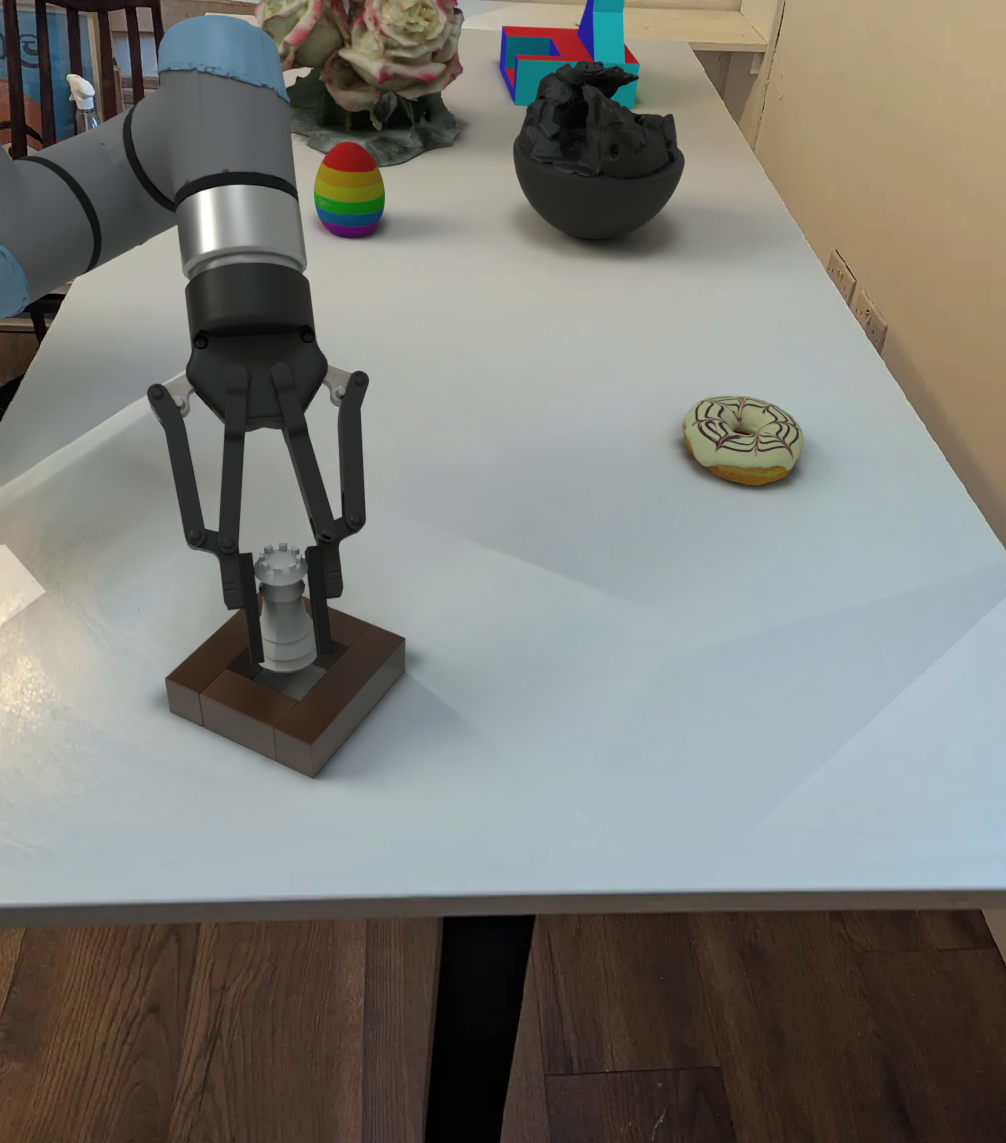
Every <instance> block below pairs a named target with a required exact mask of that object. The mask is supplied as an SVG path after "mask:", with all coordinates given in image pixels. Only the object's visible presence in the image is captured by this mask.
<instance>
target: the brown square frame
mask: <svg viewBox="0 0 1006 1143" xmlns="http://www.w3.org/2000/svg"><path fill="white" fill-rule="evenodd" d="M257 599H258V607H259V616H261V615H262V606H263V596H262V595H261V594H260V592H259V591H257ZM303 601H304V606H305V610H306V613H308V614H309V615H310V618H311V619H312V611H311V602H310V597H307V596H304V595H303ZM327 606H328V615H329V623H330V631H331V640H332V648H333V653H332V654H329V655H321V656H317V657H316V658H315V660H314V661H313V662H312V663H311V664H312V665H315V666H317V667H319V668H322V669H325V670H327V671H326V672H325V673H324V674H323V676H321V677H320V679H319V680H318V681H317V682H316V683H315V684H314V685H313V686H312V687H311V688H310V689H309V690H308V692H306V693H305V695H304V696H303V697H302V698H301V699H300V700H298V699H297V698H293V697H291V696H288V695H286V694H284V693H282V692H279V691H278V690H275V689H273V688H271V687H268V686H266V685H264V684H263V683H260V682H257V681H255V680H253V678H254V677H255V676H256V675H257V674H258V673H259V672H260V671H261V670H262V669H263V668H264V667H262V666H261V665H260V664H259V663H258V664H251V662H250V654H249V645H248V636H247V627H246V619H245V610H244V609H238V610H237V611H236V612H235V613H234V614H233V615H231V617H230V618H229V619H228V620H226V621H225V622H224V623H223V624H222V625H221V626H220V627H219V628H218V629H217V630H216V631H215V632H214V633H212V634H211V635H210V636H209V637H208V638H207V639H206V640H205V641H204V642H202V643H201V644H200V645H198V647H197V648H196V649H195V650H194V651H193V652H192V653H190V654H189V655H188V656H187V657H186V658H185V659H184V660H183V661H182V662H180V664H179V665H177V666H176V667H175V668H174V669H172V671H171V672H170V673H168V675H167V676H166V677H164V683H165V690H166V695H167V701H168V702H167V703H168V705H169V706H168V707H169V711H170V712H171V713H173V714H175V715H177V716H179V717H182V718H184V719H186V720H188V721H190V722H192V723H194V724H196V725H199V726H201V727H204V728H205V729H207V730H210V731H212V732H213V733H216V734H218V735H219V736H223V737H224V738H227V739H229V740H231V741H233V742H235V743H237V744H239V745H241V746H244V747H246V748H248V749H250V750H252V751H254V752H256V753H258V754H261V755H263V756H265V757H267V758H269V759H271V760H273V761H276V762H277V763H280V764H281V765H284V766H286V767H288V768H290V769H292V770H295V771H297V772H299V773H301V774H302V775H305V776H307V777H310V778H312V779H314V778H315V777H316V776H317V774H318V773H319V772H320V771H321V770H322V768H324V766H325V765H326V763H328V761H329V760H330V759H331V758H332V757H333V755H335V753H336V752H337V751H338V750H339V748H341V746H342V745H343V744H344V742H346V740H347V739H348V738H349V737H350V736H351V734H352V733H353V732H354V731H355V730H356V729H357V727H358V726H359V725H360V724H361V723H362V722H363V720H364V719H365V718H366V717H367V715H368V714H369V713H370V712H371V711H372V710H373V708H375V706H376V705H377V704H378V702H379V701H381V699H382V698H383V696H385V694H386V693H387V692H388V691H389V690H390V688H391V687H392V686H393V685H394V684H395V683H396V681H397V680H398V679H399V678H400V677H401V675H403V673H404V672H405V670H406V643H407V641H406V640H407V639H406V637H404V636H401V635H399V634H397V633H395V632H392V631H390V630H387V629H385V628H383V627H380V626H378V625H375V624H373V623H370V622H368V621H366V620H363V619H361V618H358V617H357V616H354V615H351V614H349V613H346V612H344V611H341V610H338V609H336V608H333V607H331V606H329V605H327ZM312 620H313V619H312Z"/></svg>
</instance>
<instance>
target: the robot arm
mask: <svg viewBox="0 0 1006 1143" xmlns="http://www.w3.org/2000/svg"><path fill="white" fill-rule="evenodd" d="M163 34H164V35H163V36H162V39H161V40H160V43H159V46H158V50H157V53H158V55H157V56H158V58H157V59H158V61H157V70H156V73H157V78H158V79H159V83H160V85H159V88H157V89H156V90H153V91H152V92H151V93H149V94H147V95H146V96H144V97H143V98H142V99H141V100H139V101H138V102H136V103H135V104H134V105H133V106H131V107H129V108H127V109H126V110H124V111H122V112H120V113H118V114H116V115H115V116H113V117H111V118H109V119H107V120H105V121H104V122H102V123H101V124H98V125H96V126H94V127H93V128H90V129H88V130H86V131H84V132H82V133H79V134H77V135H74V136H71V137H69V138H66V139H63V140H62V141H59V142H56V143H54V144H52V145H49V146H47V147H45V148H41V149H40V150H38V151H35V152H33V153H31V154H28V155H24V156H21V157H18V158H16V159H13V160H12V159H11V157H10V155H9V154H8V152H7V151H6V149H5V148H4V147H3V145H2V144H1V143H0V320H2V319H6V318H12V317H14V316H17V315H19V314H20V313H22V312H24V310H25V308H26V307H27V306H29V305H30V304H32V303H34V302H36V301H37V300H39V299H41V298H43V297H45V296H46V295H48V294H50V293H52V292H53V291H55V290H56V289H58V288H60V287H63V286H64V285H65V284H67V283H69V282H70V281H72V280H74V279H76V278H79V277H81V276H83V275H86V274H87V273H89V272H91V271H93V270H96V269H97V268H99V267H101V266H103V265H105V264H107V263H109V262H110V261H112V260H114V259H116V258H118V257H119V256H121V255H123V254H125V253H127V252H130V251H132V250H133V249H135V248H136V247H139V246H142V245H143V244H145V243H148V241H149V240H151V239H153V238H154V237H157V236H158V235H160V234H162V233H164V232H166V231H168V230H170V229H172V228H174V227H176V226H177V227H176V228H177V236H178V244H179V253H180V261H181V262H180V263H181V270H182V273H183V276H184V277H185V278H186V279H187V280H188V281H189V282H188V283H187V284H186V286H185V288H184V297H185V304H186V314H187V323H188V331H189V341H190V348H191V353H190V356H189V359H188V361H187V363H186V366H185V373H184V374H183V375H180V376H179V377H177V378H175V379H173V380H171V381H169V382H167V383H166V384H162V383H153V384H151V385H149V386H148V388H147V390H146V397H147V400H148V403H149V407H150V409H151V411H152V412H153V414H154V416H155V418H156V419H157V421H158V422H159V424H160V425H161V427H162V429H163V430H164V434H165V435H164V436H165V440H166V445H167V450H168V456H169V461H170V465H171V471H172V476H173V481H174V487H175V492H176V497H177V498H176V499H177V501H178V503H177V504H178V508H179V513H180V518H181V524H182V529H183V534H184V539H185V542H186V545H187V547H188V548H189V549H191V550H193V551H200V552H204V553H208V554H211V555H213V556H214V557H215V558H216V559H217V560H218V563H219V571H220V579H221V586H222V587H221V589H222V599H223V604H224V605H225V607H226V609H227V611H236V610H240V609H244V610H245V619H246V627H247V636H248V645H249V654H250V662H251V664H258V663H264V662H265V660H264V651H263V642H262V633H261V625H260V616H259V607H258V599H257V593H258V590H257V582H256V576H255V573H254V564H255V563H254V556H253V552H252V551H249V552H241V551H240V530H241V529H240V528H241V513H242V512H241V511H242V496H243V495H242V494H243V479H244V478H243V477H244V460H245V459H244V458H245V441H246V433H251V432H254V431H258V430H260V429H263V428H264V429H269V430H277V431H278V430H279V431H280V430H281V433H282V434H281V435H282V437H283V441H284V443H285V446H286V447H287V451H288V455H289V458H290V461H291V464H292V467H293V471H294V474H295V478H296V481H297V484H298V488H299V492H300V495H301V499H302V501H303V505H304V508H305V512H306V515H307V519H308V523H309V525H310V528H311V533H312V535H313V539H314V542H315V545H307V547H306V548H305V550H304V559H305V560H306V562H307V564H308V571H307V574H306V577H307V585H308V593H309V599H310V602H311V611H312V619H313V628H314V636H315V644H316V653H317V656H321V655H329V654H332V653H333V648H332V640H331V631H330V623H329V615H328V606H329V605H328V600H332V599H339V598H341V597H342V595H343V591H344V580H343V572H342V563H341V556H340V544H341V542H342V541H344V540H345V539H347V538H349V537H352V536H353V535H357V534H358V533H359V532H360V531H362V530H363V528H364V526H365V525H366V523H367V510H366V493H365V492H366V490H365V489H366V488H365V469H364V468H365V467H364V449H363V427H362V425H363V424H362V406H363V403H364V401H365V400H364V399H365V396H366V393H367V390H368V387H369V384H370V378H369V375H368V374H367V372H365V371H363V370H355V371H353V372H349V371H346V370H343V369H340V368H338V367H335V366H332V365H329V362H328V359H327V357H326V355H325V354H324V353H323V351H322V350H321V348H320V346H319V344H318V340H317V332H316V325H315V318H314V310H313V309H314V308H313V300H312V292H311V285H310V280H309V278H307V276H305V275H304V273H305V271H306V270H307V267H308V260H307V258H308V257H307V251H306V243H305V242H306V241H305V234H304V228H303V227H304V226H303V220H302V213H301V206H300V200H299V199H300V198H299V192H298V186H297V178H296V168H295V159H294V150H293V149H294V148H293V139H292V138H293V137H292V132H291V125H290V113H289V107H290V99H289V97H288V95H287V92H286V88H287V87H286V83H285V78H284V72H283V71H282V66H281V65H282V64H281V61H280V56H279V52H278V49H277V46H276V44H275V43H274V41H273V40H272V38H271V37H270V36H269V35H268V34H267V33H266V32H264V31H263V30H262V29H261V28H259V26H255V25H253V24H251V23H249V22H248V21H247V20H245V19H242V18H239V17H236V16H230V15H220V14H208V15H207V14H206V15H198V16H194V17H190V18H186V19H183V20H181V21H179V22H177V23H175V24H173V25H172V26H171V27H169V28H168V29H167V30H166V32H164V33H163ZM322 385H324V386H325V387H327V389H328V390H329V400H330V402H331V404H332V405H333V406H335V407H338V411H337V443H338V444H337V445H338V464H339V465H338V466H339V485H340V505H341V506H340V507H341V516H340V517H338V518H334V514H333V511H332V508H331V504H330V502H329V497H328V493H327V491H326V490H327V489H326V487H325V484H324V480H323V477H322V473H321V471H320V467H319V463H318V460H317V457H316V452H315V450H314V446H313V444H312V439H311V437H310V432H309V427H308V426H309V425H308V421H307V419H306V412H307V410H308V408H309V407H310V405H311V404H312V402H313V400H314V398H315V397H316V396H317V394H318V392H319V390H320V388H321V387H322ZM192 394H195V395H196V396H197V397H198V399H200V400H201V402H203V403H204V405H205V406H206V407H207V408H208V409H209V410H210V411H211V412H212V413H213V414H214V415H215V416H216V417H217V419H218V420H219V421H220V422H221V423H222V424H223V425H224V428H223V449H222V462H221V479H220V480H221V481H220V482H221V483H220V498H219V499H220V500H219V513H218V514H219V515H218V517H219V518H218V531H217V530H213V529H208V528H206V526H205V521H204V516H203V511H202V506H201V501H200V496H199V489H198V485H197V480H196V475H195V470H194V465H193V464H194V463H193V459H192V453H191V449H190V444H189V438H188V432H187V427H186V424H185V420H184V418H187V416H188V415H189V414H190V412H191V404H190V401H189V400H190V397H191V395H192ZM240 552H241V553H240Z"/></svg>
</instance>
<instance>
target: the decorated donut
mask: <svg viewBox="0 0 1006 1143" xmlns="http://www.w3.org/2000/svg"><path fill="white" fill-rule="evenodd" d="M681 426H682V434H683V440H684V443H685V446H686V447H687V450H688V451H689V454H691V455H692V456H693V458H694V459H695V460H696V461H697V462H698V463H699V464H700V465H702V466H703V467H704V468H705V469H707V470H709V471H710V472H711V473H712V474H713V475H714V476H715V477H716V478H721V479H723V480H726V481H729V482H733V483H739V484H743V485H745V486H746V485H747V486H754V487H759V486H762V485H764V484H769V483H774V482H776V481H779V480H783V479H784V478H786V477H787V475H788V474H789V473H790V472H791V471H792V469H793V468H794V466H795V465H796V463H797V461H798V459H799V458H800V457H801V455H802V452H803V449H804V448H803V447H804V443H805V438H804V432H803V429H802V428H801V426H800V424H799V423H798V422H797V420H796V419H795V418H794V416H793V415H792V414H790V413H789V412H787V411H786V410H784V409H783V408H780V407H779V406H777V405H775V404H773V403H770V402H768V401H766V400H763V399H759V398H754V397H750V396H745V395H744V396H743V395H736V396H735V395H733V396H732V395H718V396H708V397H705V398H704V399H702V400H699V401H696V403H695V404H693V405H692V406H691V407H690V409H689V410H688V412H687V413H686V414H685V415H684V416H683V422H682V425H681Z"/></svg>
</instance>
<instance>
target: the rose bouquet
mask: <svg viewBox="0 0 1006 1143" xmlns="http://www.w3.org/2000/svg"><path fill="white" fill-rule="evenodd" d="M458 6H459V3H458V0H260V1H258V3H257V4H256V5H255V8H254V9H253V16H254V18H255V19H256V21H257V24H258V27H259V28H261V29H262V30H263V31H264V32H266V33H267V34H268V35H269V36H270V37H271V38H272V40H273V41H274V43H275V44H276V46H277V49H278V52H279V56H280V61H281V66H282V71H283V73H284V72H287V71H293V70H299V69H300V70H301V69H304V68H307V69H310V71H309V73H308V74H306V75H305V76H304V77H303V76H299V75H297V76H295V82H294V84H291V85H289V86H287V87H286V92H287V95H288V97H289V99H290V107H289V113H290V125H291V133H295V134H296V133H297V134H300V135H304V136H308V140H307V143H306V145H307V146H308V147H311V148H313V149H316V150H317V151H320V152H324V153H328V152H329V151H330V150H331V149H332V148H333V147H334V146H336V145H337V144H339V143H342V142H346V141H349V142H354V143H357V144H359V145H360V146H362V147H363V148H364V149H365V150H367V152H368V153H369V154H370V155H371V156H372V158H373V159H374V161H375V162H376V164H377V166H378V168H382V167H385V166H391V165H397V164H401V163H403V162H407V161H409V160H410V159H413V158H414V157H416V156H417V155H419V154H421V153H423V152H424V151H428V150H432V149H435V148H442V147H453V145H454V139H455V137H456V136H457V135H459V134H460V132H462V131H463V129H460V128H459V127H458V126H457V125H458V121H457V117H456V115H454V114H453V113H452V112H451V111H450V110H449V109H448V107H447V106H446V105H445V103H444V101H443V97H442V92H443V91H445V89H446V88H447V87H448V86H449V85H451V83H453V82H454V81H456V79H457V78H458V77H459V76H460V75H462V74H463V73H464V67H463V65H462V64H461V62H460V54H459V41H460V37H461V35H462V26H463V24H464V21H466V19H465V15H464V12H463V11H462V9H461V8H459V7H458Z"/></svg>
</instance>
